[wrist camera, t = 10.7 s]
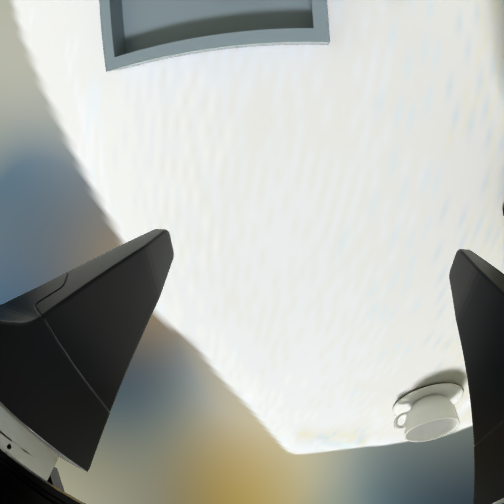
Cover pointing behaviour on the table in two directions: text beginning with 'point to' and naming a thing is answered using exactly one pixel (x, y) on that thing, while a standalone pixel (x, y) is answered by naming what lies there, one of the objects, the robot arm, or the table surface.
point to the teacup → (428, 412)
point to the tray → (204, 27)
